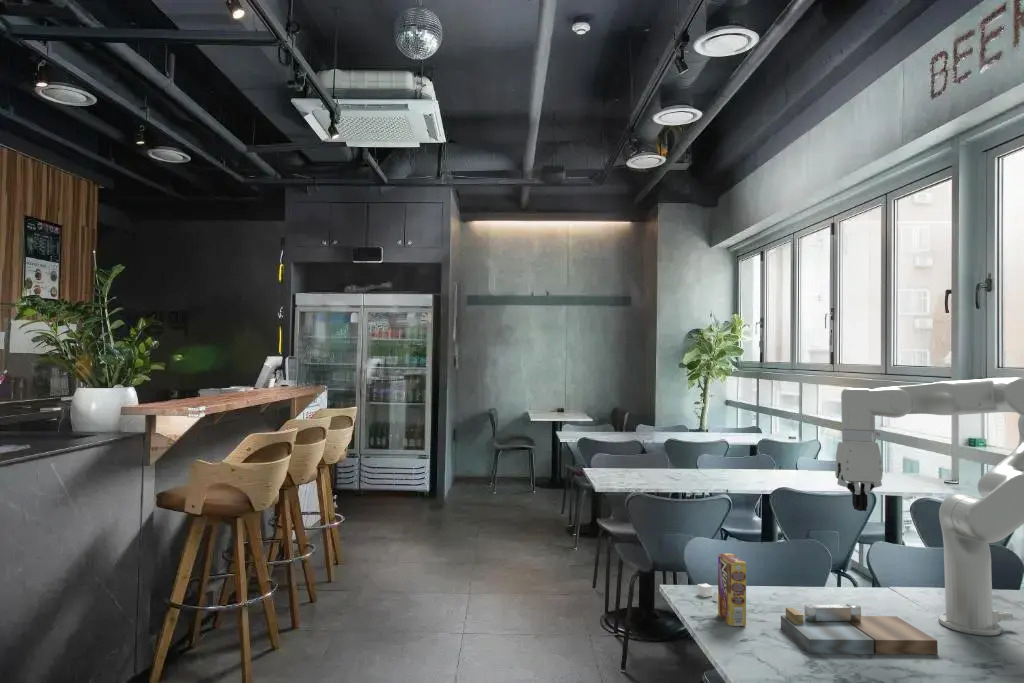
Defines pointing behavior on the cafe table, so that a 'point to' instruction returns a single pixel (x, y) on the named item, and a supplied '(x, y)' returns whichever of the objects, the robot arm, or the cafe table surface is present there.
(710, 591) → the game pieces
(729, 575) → the candy box
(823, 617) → the swing bar
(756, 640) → the cafe table surface
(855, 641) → the gray and brown slabs
